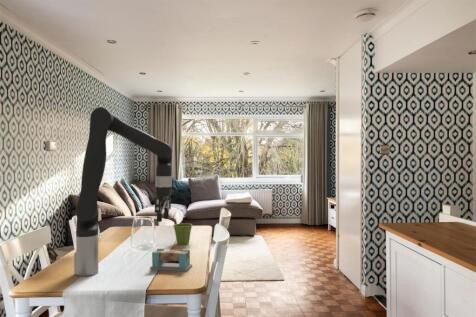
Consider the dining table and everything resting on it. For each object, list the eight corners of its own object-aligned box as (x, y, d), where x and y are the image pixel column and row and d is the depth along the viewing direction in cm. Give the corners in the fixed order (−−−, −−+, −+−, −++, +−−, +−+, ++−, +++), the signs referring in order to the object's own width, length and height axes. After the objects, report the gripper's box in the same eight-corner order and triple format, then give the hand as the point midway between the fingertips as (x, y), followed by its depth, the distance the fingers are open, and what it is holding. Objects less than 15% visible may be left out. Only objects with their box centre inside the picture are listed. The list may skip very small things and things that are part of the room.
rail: (153, 259, 170) (153, 252, 170) (156, 257, 174) (156, 250, 174) (186, 261, 168) (186, 253, 168) (188, 259, 172) (188, 251, 172)
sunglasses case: (167, 254, 195) (173, 243, 195) (179, 260, 195) (185, 250, 195) (161, 264, 177) (168, 252, 177) (174, 271, 177) (181, 259, 177)
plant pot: (194, 241, 225) (194, 223, 225) (190, 245, 213) (190, 226, 213) (176, 240, 226) (175, 222, 226) (170, 245, 215) (170, 226, 215)
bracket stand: (149, 269, 168) (149, 252, 168) (156, 264, 176) (156, 248, 176) (187, 271, 166) (186, 254, 166) (192, 266, 173) (192, 249, 173)
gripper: (161, 184, 178) (160, 217, 178) (149, 186, 164) (149, 222, 164) (176, 185, 177) (175, 218, 177) (165, 187, 163) (164, 223, 163)
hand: (162, 220), depth 170 cm, fingers open, 8 cm apart
